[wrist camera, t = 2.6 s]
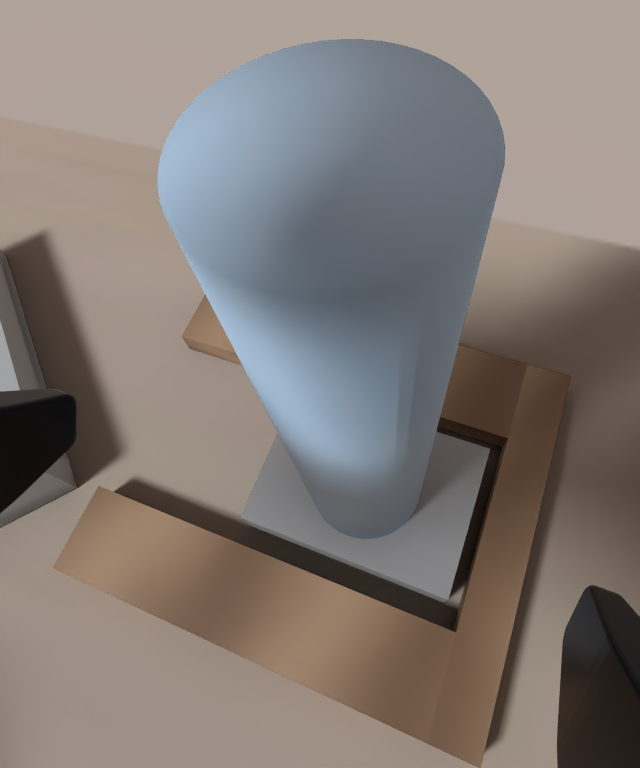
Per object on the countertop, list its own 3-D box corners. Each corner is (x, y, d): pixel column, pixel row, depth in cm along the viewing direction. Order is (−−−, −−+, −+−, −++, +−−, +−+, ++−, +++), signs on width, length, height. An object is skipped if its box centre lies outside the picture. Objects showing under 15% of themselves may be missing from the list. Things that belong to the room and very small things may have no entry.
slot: (562, 387, 20) (570, 376, 19) (474, 760, 15) (480, 768, 14) (220, 291, 24) (214, 277, 23) (68, 571, 19) (53, 567, 18)
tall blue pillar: (482, 462, 19) (721, 43, 6) (443, 602, 17) (655, 485, 4) (303, 403, 21) (155, -24, 7) (250, 525, 19) (-76, 257, 6)
